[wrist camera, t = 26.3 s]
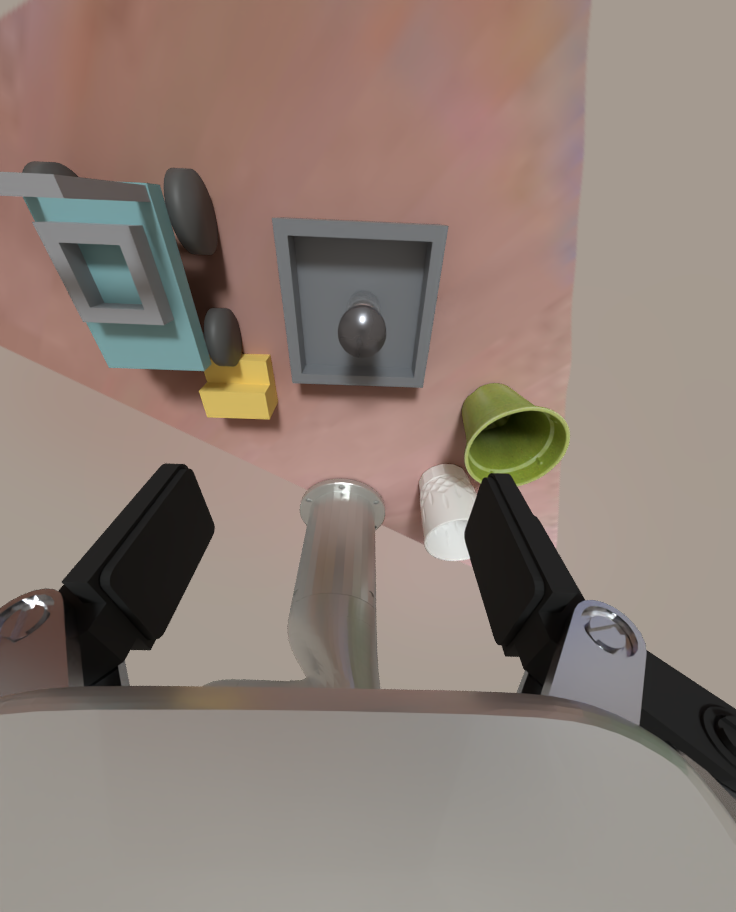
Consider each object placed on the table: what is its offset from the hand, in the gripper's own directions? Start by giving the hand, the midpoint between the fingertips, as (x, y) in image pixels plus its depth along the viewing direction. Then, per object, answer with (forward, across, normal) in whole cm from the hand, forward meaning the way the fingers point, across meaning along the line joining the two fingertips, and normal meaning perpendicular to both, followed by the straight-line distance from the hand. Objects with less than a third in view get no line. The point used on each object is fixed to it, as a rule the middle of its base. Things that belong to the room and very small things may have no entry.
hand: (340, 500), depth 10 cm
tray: (+24, 0, -1) cm, 24 cm away
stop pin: (+24, 0, -1) cm, 24 cm away
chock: (+25, +12, +6) cm, 28 cm away
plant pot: (+25, -15, +9) cm, 30 cm away
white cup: (+25, -12, +21) cm, 35 cm away
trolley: (+24, +17, -3) cm, 30 cm away
